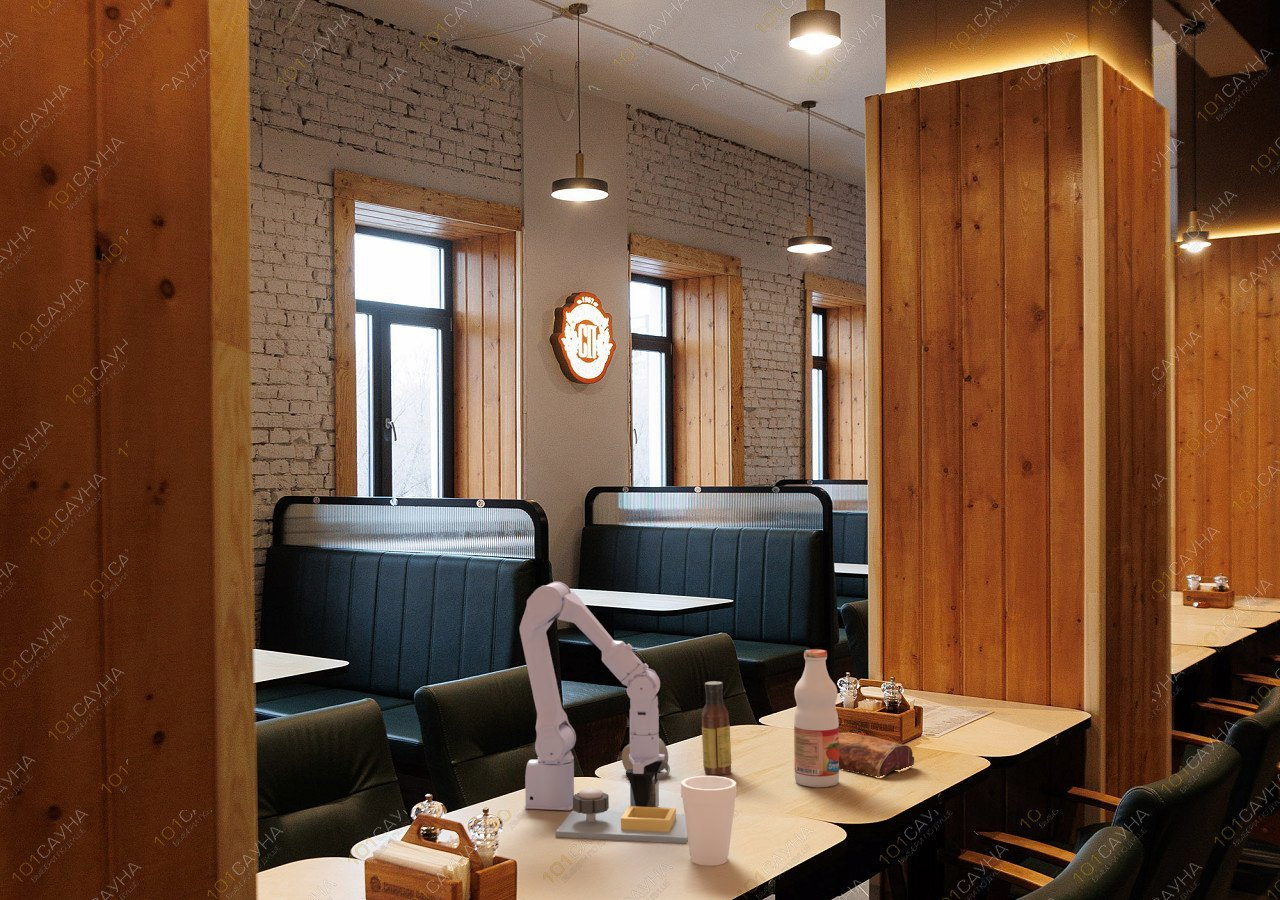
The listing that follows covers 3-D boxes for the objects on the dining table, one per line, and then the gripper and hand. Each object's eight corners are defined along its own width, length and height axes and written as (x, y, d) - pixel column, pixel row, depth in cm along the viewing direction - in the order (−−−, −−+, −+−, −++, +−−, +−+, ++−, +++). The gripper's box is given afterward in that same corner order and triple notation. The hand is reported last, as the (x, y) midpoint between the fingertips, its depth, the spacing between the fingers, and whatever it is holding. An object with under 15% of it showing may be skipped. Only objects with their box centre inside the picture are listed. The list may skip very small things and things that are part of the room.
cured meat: (836, 747, 279) (835, 718, 279) (925, 765, 261) (924, 735, 261) (788, 761, 267) (788, 732, 267) (879, 782, 248) (878, 750, 248)
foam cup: (703, 847, 203) (703, 772, 203) (747, 857, 197) (746, 781, 198) (670, 861, 196) (670, 784, 196) (715, 872, 190) (714, 793, 190)
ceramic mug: (619, 773, 254) (619, 738, 255) (645, 767, 260) (646, 733, 260) (652, 783, 247) (652, 747, 247) (679, 776, 252) (679, 741, 252)
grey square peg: (630, 811, 225) (630, 778, 226) (634, 805, 229) (633, 773, 229) (655, 812, 224) (655, 779, 225) (658, 806, 228) (658, 774, 229)
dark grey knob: (570, 813, 213) (570, 795, 213) (577, 803, 219) (577, 786, 219) (604, 814, 212) (603, 797, 212) (610, 804, 218) (610, 787, 218)
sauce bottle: (731, 769, 257) (731, 680, 258) (731, 776, 251) (730, 685, 252) (702, 768, 258) (701, 679, 258) (701, 776, 252) (700, 684, 252)
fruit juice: (793, 776, 251) (792, 647, 252) (837, 777, 250) (836, 647, 251) (795, 787, 242) (794, 654, 242) (840, 788, 241) (839, 654, 241)
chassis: (555, 836, 209) (555, 818, 210) (573, 814, 223) (573, 797, 223) (686, 843, 205) (686, 824, 205) (696, 820, 219) (696, 802, 219)
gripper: (658, 741, 219) (658, 813, 219) (669, 725, 234) (670, 792, 233) (622, 740, 221) (622, 811, 220) (635, 724, 235) (635, 791, 235)
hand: (644, 801), depth 227 cm, fingers open, 7 cm apart
